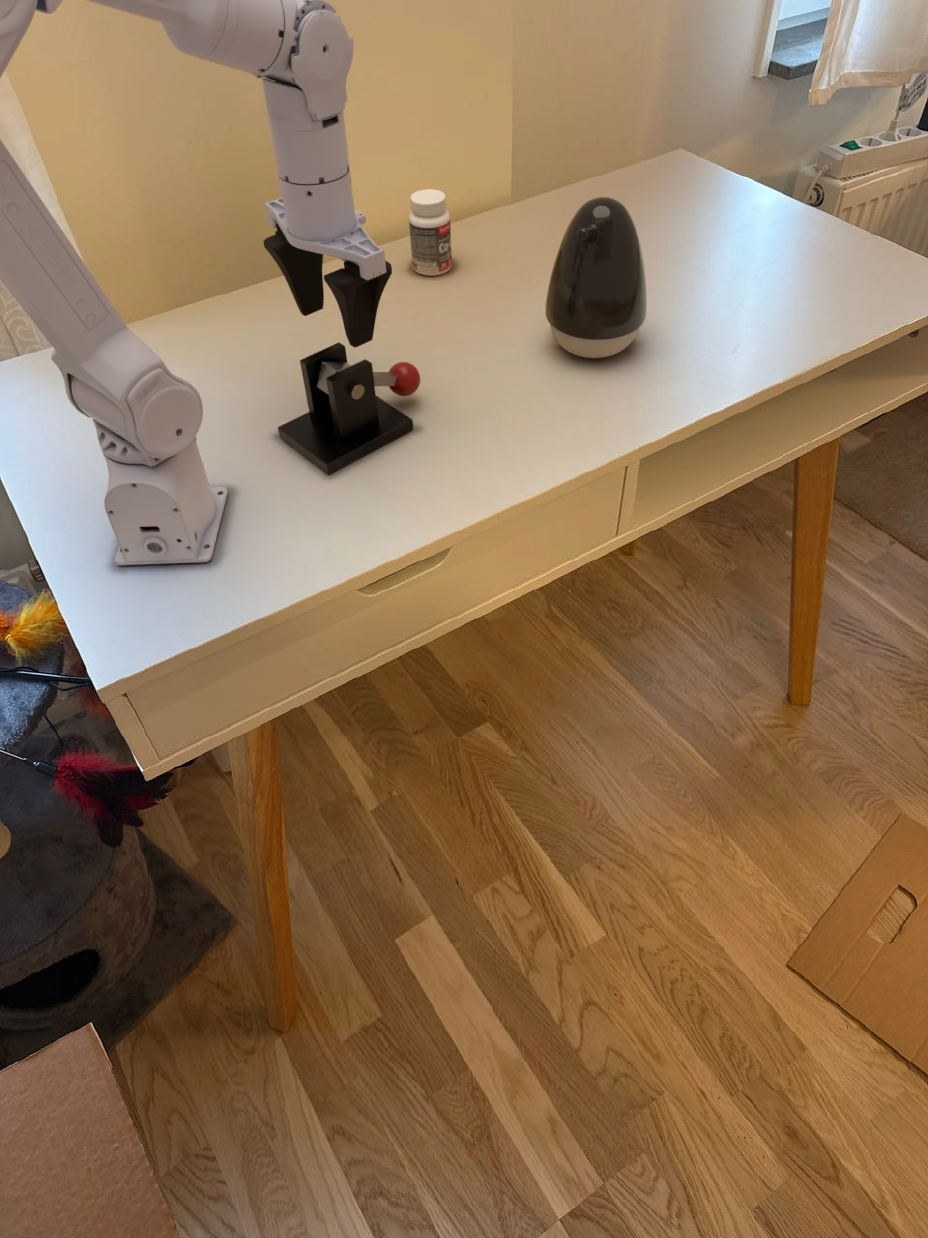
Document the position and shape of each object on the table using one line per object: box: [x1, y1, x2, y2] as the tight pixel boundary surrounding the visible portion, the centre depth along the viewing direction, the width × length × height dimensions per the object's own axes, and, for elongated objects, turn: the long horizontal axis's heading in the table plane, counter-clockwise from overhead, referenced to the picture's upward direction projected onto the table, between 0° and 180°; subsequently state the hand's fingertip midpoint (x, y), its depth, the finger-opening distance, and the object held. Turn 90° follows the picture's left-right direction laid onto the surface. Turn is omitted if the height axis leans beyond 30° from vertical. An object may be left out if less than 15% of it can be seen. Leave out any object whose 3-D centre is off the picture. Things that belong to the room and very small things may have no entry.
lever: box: [317, 361, 421, 397], centre depth 87 cm, size 11×3×3 cm, turn 132°
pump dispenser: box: [545, 196, 648, 359], centre depth 92 cm, size 10×10×15 cm
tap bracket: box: [277, 341, 414, 476], centre depth 86 cm, size 10×8×8 cm
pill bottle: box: [408, 188, 453, 277], centre depth 108 cm, size 5×5×8 cm
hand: (336, 326), depth 84 cm, fingers open, 7 cm apart
